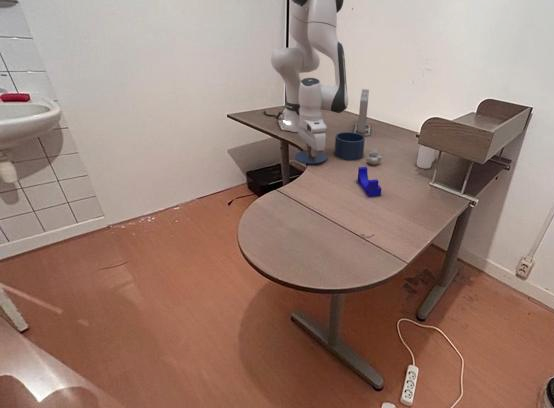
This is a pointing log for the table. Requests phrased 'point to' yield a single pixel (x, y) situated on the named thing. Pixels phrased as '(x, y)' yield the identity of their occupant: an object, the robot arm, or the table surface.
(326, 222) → the table surface
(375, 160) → the rubber duck
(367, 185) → the blue l-shaped block
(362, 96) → the network device
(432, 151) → the can
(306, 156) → the pail lid
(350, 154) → the pail
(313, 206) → the table surface
